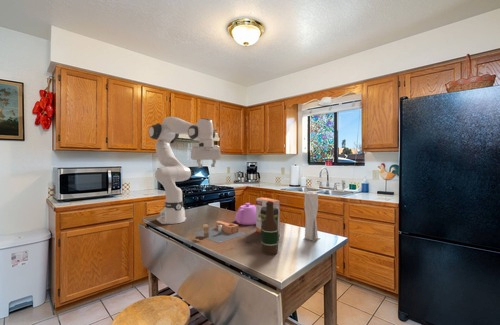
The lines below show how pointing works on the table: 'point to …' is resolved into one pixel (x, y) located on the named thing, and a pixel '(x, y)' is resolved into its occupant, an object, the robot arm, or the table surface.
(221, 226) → the cylinder
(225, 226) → the square column with socket
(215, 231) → the board
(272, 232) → the beer bottle
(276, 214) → the coffee jar
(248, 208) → the teapot
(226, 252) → the table surface
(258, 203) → the cracker box
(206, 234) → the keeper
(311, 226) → the skyscraper
